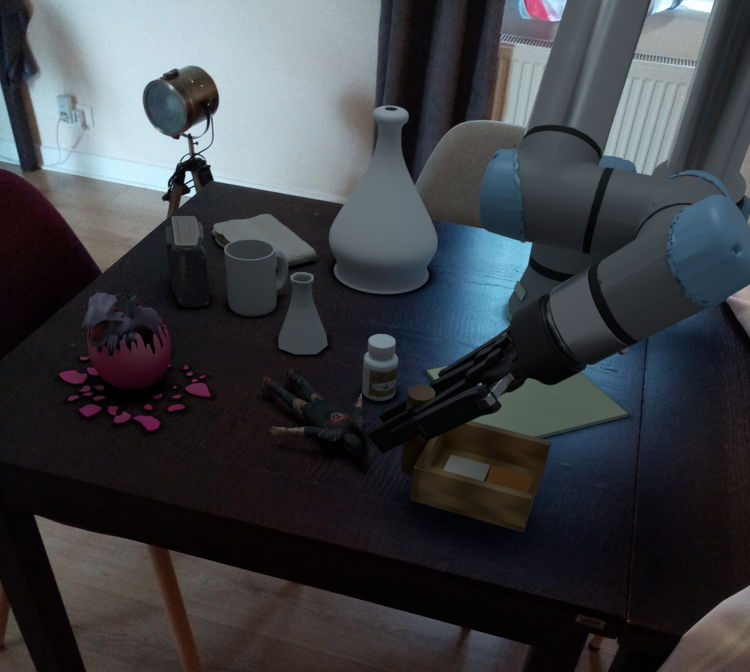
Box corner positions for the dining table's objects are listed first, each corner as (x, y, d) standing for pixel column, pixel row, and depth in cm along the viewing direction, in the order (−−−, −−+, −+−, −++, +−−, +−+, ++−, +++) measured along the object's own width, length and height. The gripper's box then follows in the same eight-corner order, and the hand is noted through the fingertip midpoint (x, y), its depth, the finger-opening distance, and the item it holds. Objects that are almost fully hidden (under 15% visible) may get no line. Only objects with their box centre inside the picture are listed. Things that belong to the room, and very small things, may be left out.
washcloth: (268, 224, 141) (267, 207, 139) (320, 263, 130) (320, 245, 128) (207, 237, 135) (205, 219, 133) (256, 278, 125) (255, 260, 123)
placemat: (549, 348, 113) (549, 344, 113) (626, 417, 101) (628, 413, 101) (426, 373, 106) (426, 369, 106) (493, 450, 94) (494, 446, 94)
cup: (219, 302, 118) (214, 245, 112) (275, 286, 123) (273, 230, 117) (245, 322, 114) (241, 264, 108) (301, 304, 119) (300, 248, 113)
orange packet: (530, 484, 83) (533, 476, 82) (524, 503, 80) (526, 494, 80) (490, 474, 84) (492, 465, 83) (482, 492, 81) (484, 483, 81)
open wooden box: (543, 473, 85) (562, 397, 79) (523, 532, 78) (542, 455, 72) (416, 439, 89) (423, 364, 82) (385, 493, 82) (391, 415, 75)
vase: (315, 287, 123) (315, 117, 107) (344, 243, 136) (348, 86, 120) (423, 304, 121) (440, 133, 104) (442, 258, 134) (460, 99, 117)
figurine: (320, 342, 101) (418, 412, 89) (321, 381, 105) (415, 453, 93) (228, 372, 95) (321, 452, 83) (233, 413, 98) (322, 495, 86)
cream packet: (488, 473, 84) (490, 464, 83) (481, 491, 81) (482, 483, 81) (449, 462, 85) (450, 454, 84) (440, 480, 82) (442, 471, 82)
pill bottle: (371, 405, 100) (374, 352, 95) (356, 387, 103) (358, 335, 98) (401, 397, 102) (406, 345, 96) (385, 380, 104) (389, 329, 99)
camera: (211, 308, 117) (205, 244, 110) (171, 310, 116) (163, 245, 109) (207, 274, 125) (201, 212, 118) (170, 276, 124) (162, 213, 117)
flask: (321, 360, 107) (321, 293, 101) (270, 352, 108) (267, 285, 102) (333, 334, 113) (335, 269, 106) (285, 327, 114) (283, 262, 107)
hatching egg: (39, 373, 102) (12, 276, 93) (152, 335, 110) (138, 242, 101) (113, 448, 91) (91, 346, 82) (232, 399, 99) (224, 302, 90)
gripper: (577, 410, 64) (377, 504, 79) (605, 321, 75) (426, 419, 90) (525, 338, 62) (329, 449, 77) (562, 258, 73) (385, 369, 88)
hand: (382, 433), depth 83 cm, fingers closed on open wooden box, 3 cm apart
